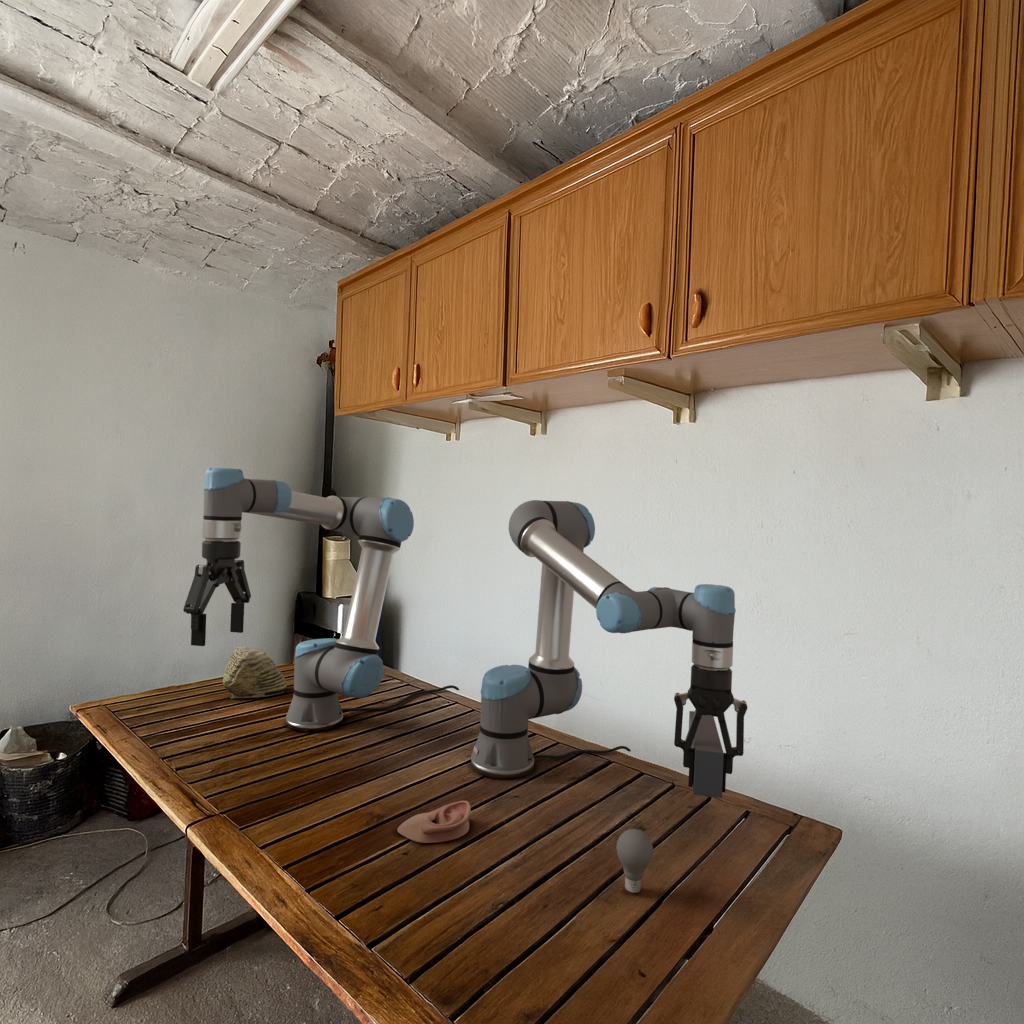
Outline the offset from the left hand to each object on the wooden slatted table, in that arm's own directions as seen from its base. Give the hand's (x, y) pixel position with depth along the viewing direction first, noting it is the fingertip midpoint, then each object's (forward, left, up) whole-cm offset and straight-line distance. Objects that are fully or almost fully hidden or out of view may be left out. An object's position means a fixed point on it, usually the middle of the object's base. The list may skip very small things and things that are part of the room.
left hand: (218, 638), depth 136 cm
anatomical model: (-20, +48, -32) cm, 61 cm away
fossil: (-38, -51, -32) cm, 71 cm away
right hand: (-52, +89, -21) cm, 105 cm away
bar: (-60, +85, -21) cm, 106 cm away
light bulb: (-29, +86, -32) cm, 96 cm away
